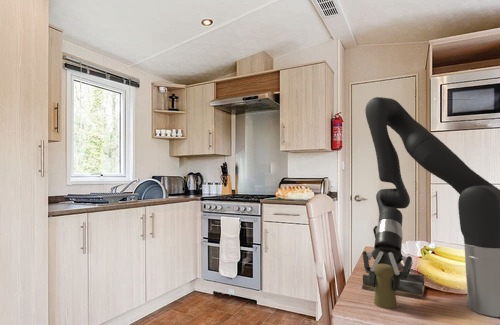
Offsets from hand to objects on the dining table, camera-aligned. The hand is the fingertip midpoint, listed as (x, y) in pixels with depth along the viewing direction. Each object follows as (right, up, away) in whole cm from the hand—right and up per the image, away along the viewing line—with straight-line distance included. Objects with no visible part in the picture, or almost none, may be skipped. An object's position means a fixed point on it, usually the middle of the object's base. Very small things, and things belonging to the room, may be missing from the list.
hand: (383, 287), depth 83 cm
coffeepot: (+20, -8, +40) cm, 46 cm away
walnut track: (+10, -6, +14) cm, 19 cm away
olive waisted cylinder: (+1, -5, +1) cm, 6 cm away
